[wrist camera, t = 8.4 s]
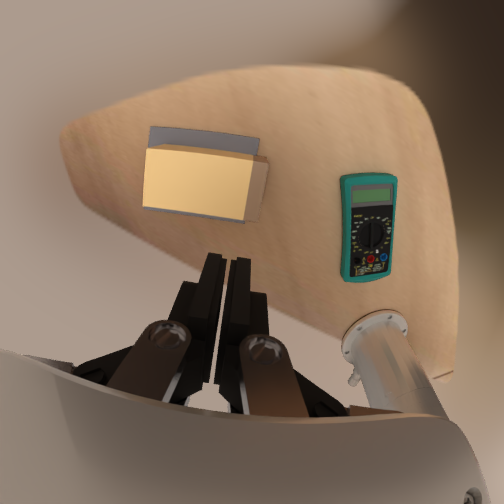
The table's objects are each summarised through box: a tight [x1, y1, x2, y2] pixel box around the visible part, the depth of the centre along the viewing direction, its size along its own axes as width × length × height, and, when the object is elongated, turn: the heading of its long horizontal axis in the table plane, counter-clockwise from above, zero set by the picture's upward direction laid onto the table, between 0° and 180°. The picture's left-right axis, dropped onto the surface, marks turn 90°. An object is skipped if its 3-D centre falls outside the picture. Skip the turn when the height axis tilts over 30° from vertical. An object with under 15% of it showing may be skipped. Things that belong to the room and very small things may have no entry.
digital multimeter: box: [340, 173, 398, 283], centre depth 33 cm, size 7×15×3 cm, turn 7°
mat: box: [144, 127, 259, 224], centre depth 31 cm, size 10×13×1 cm
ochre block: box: [143, 144, 269, 223], centre depth 28 cm, size 6×6×12 cm
